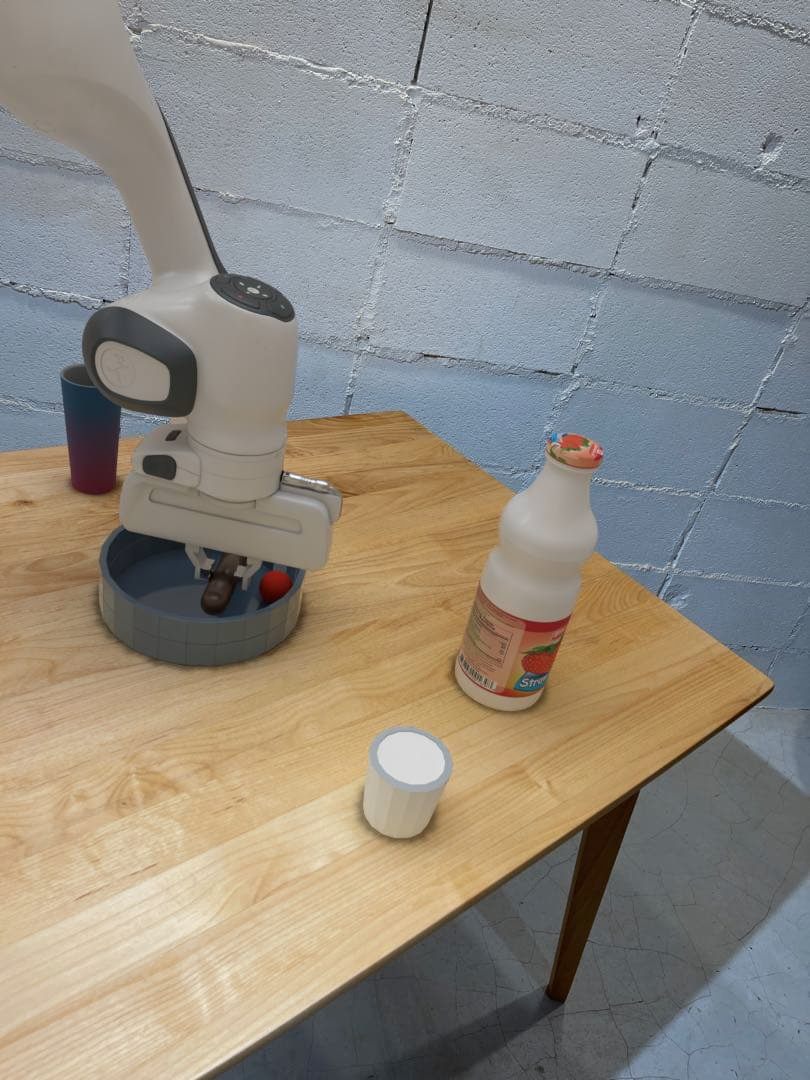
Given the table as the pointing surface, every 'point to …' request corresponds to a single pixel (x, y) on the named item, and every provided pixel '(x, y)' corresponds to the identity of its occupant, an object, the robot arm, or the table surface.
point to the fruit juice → (531, 580)
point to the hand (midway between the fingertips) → (222, 581)
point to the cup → (90, 432)
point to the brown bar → (221, 584)
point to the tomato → (274, 586)
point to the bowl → (187, 604)
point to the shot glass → (404, 780)
